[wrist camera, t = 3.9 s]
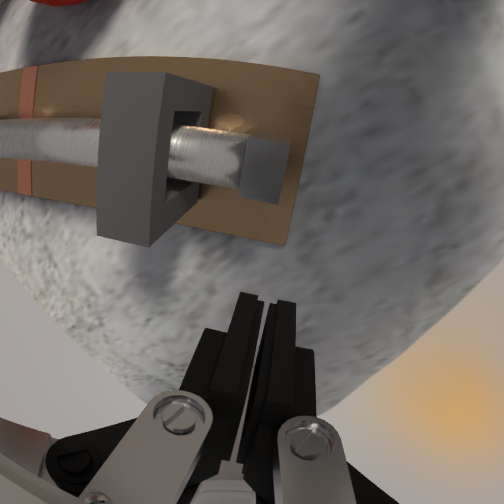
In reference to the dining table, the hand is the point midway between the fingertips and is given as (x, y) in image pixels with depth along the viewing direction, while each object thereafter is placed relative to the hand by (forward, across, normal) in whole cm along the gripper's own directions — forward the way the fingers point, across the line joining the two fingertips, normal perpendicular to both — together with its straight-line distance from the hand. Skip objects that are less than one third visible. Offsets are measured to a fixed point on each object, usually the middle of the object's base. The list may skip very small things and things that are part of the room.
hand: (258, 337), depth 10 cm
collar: (+13, +7, -4) cm, 15 cm away
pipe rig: (+14, +15, -4) cm, 21 cm away
